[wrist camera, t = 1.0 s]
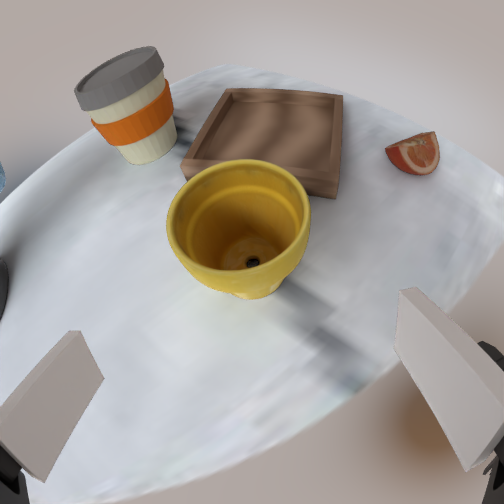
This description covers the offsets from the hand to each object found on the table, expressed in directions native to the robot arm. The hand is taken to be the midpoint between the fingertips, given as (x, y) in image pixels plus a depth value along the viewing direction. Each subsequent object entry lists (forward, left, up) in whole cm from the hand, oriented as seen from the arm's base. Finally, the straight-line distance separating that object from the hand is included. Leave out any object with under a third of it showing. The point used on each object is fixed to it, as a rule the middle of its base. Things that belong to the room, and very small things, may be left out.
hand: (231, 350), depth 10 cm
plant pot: (-4, +10, -15) cm, 18 cm away
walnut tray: (-6, +29, -15) cm, 33 cm away
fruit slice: (+13, +28, -15) cm, 34 cm away
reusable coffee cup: (-25, +27, -15) cm, 39 cm away
